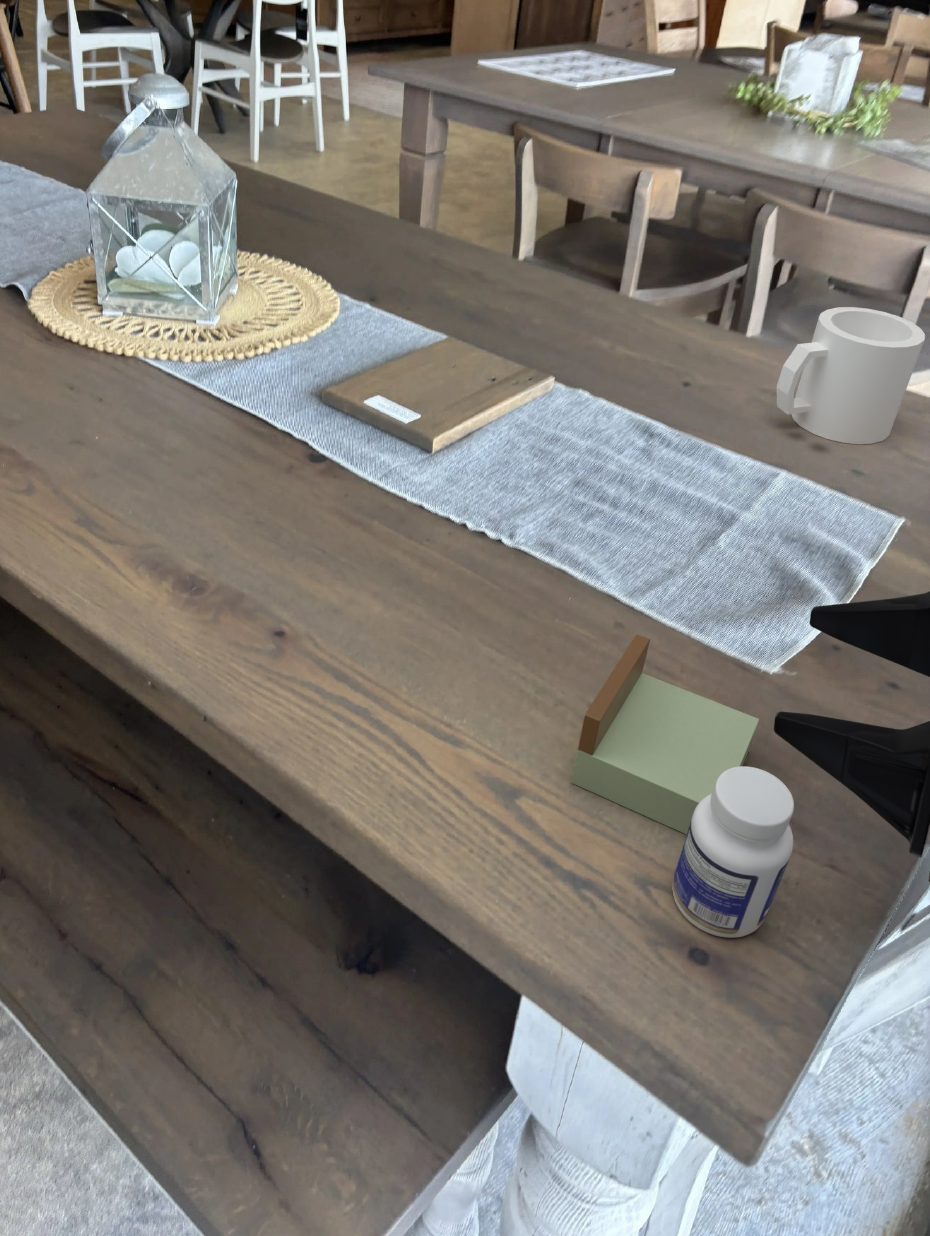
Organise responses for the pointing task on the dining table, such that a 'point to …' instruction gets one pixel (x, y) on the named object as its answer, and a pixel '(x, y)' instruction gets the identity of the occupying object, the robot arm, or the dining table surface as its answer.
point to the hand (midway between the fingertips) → (793, 665)
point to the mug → (851, 374)
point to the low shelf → (657, 743)
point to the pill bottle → (735, 853)
